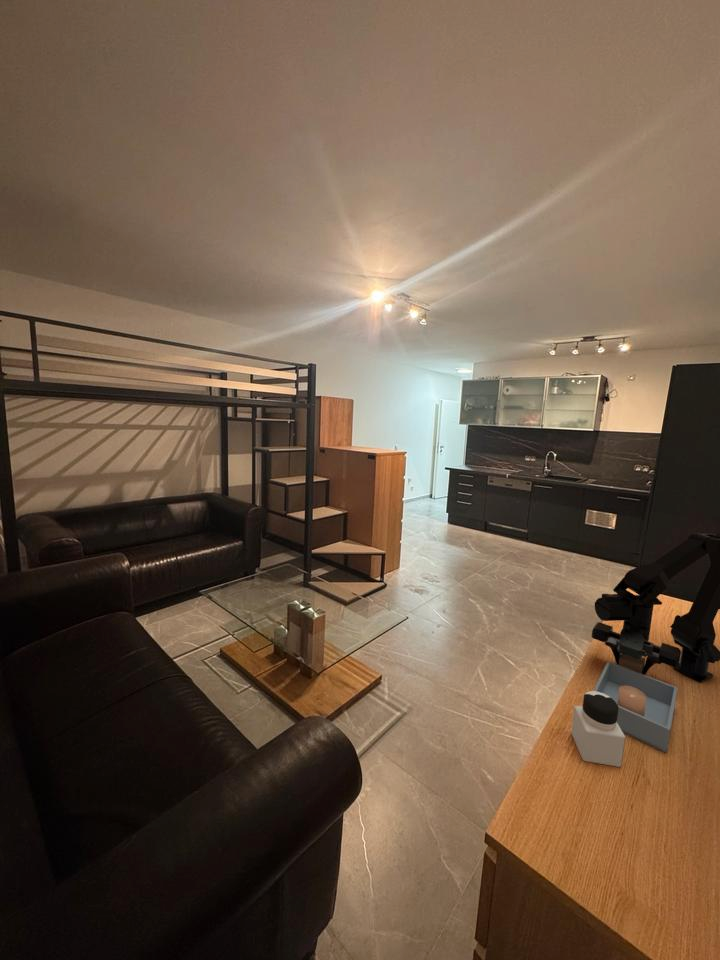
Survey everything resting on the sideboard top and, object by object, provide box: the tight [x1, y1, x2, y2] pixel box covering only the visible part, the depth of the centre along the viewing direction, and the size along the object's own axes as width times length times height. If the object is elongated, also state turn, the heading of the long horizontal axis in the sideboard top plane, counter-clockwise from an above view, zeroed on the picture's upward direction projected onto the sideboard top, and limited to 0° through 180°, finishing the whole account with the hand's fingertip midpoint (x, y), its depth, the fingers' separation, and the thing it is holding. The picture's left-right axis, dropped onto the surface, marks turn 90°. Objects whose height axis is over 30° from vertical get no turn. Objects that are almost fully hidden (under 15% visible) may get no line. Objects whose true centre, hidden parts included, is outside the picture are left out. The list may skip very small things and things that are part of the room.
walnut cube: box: [619, 653, 646, 674], centre depth 101 cm, size 5×5×5 cm
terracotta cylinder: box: [617, 685, 646, 716], centre depth 85 cm, size 5×5×7 cm
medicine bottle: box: [570, 690, 626, 768], centre depth 78 cm, size 7×7×12 cm
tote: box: [592, 661, 678, 754], centre depth 89 cm, size 17×14×6 cm
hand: (630, 671), depth 102 cm, fingers closed on walnut cube, 5 cm apart
